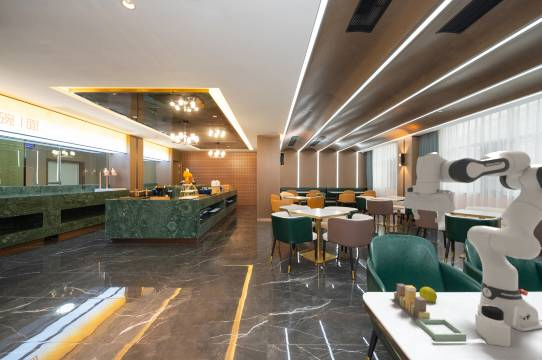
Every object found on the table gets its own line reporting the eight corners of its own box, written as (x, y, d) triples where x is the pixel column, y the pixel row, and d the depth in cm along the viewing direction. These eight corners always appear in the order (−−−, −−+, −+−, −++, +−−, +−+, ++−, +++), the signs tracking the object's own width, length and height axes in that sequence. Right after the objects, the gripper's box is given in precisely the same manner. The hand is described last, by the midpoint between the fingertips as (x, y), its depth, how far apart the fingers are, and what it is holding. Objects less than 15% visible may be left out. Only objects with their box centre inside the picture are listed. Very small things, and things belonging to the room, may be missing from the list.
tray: (444, 325, 96) (444, 318, 96) (466, 341, 86) (466, 334, 86) (416, 325, 95) (416, 318, 95) (434, 341, 85) (434, 334, 85)
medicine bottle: (511, 347, 83) (511, 313, 83) (487, 344, 84) (487, 310, 85) (496, 335, 90) (496, 303, 90) (474, 332, 91) (475, 301, 92)
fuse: (411, 307, 107) (411, 285, 107) (415, 311, 104) (416, 288, 104) (404, 307, 107) (405, 285, 107) (409, 311, 104) (409, 288, 104)
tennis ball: (416, 298, 118) (416, 284, 118) (428, 298, 119) (428, 284, 119) (427, 306, 111) (427, 291, 111) (440, 305, 112) (440, 290, 112)
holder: (389, 301, 115) (390, 282, 115) (405, 301, 115) (405, 282, 115) (415, 324, 96) (415, 301, 96) (434, 324, 96) (434, 301, 96)
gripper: (458, 190, 94) (457, 224, 94) (411, 188, 114) (411, 217, 113) (448, 189, 92) (447, 225, 92) (402, 188, 111) (401, 217, 111)
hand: (427, 220), depth 103 cm, fingers open, 8 cm apart
